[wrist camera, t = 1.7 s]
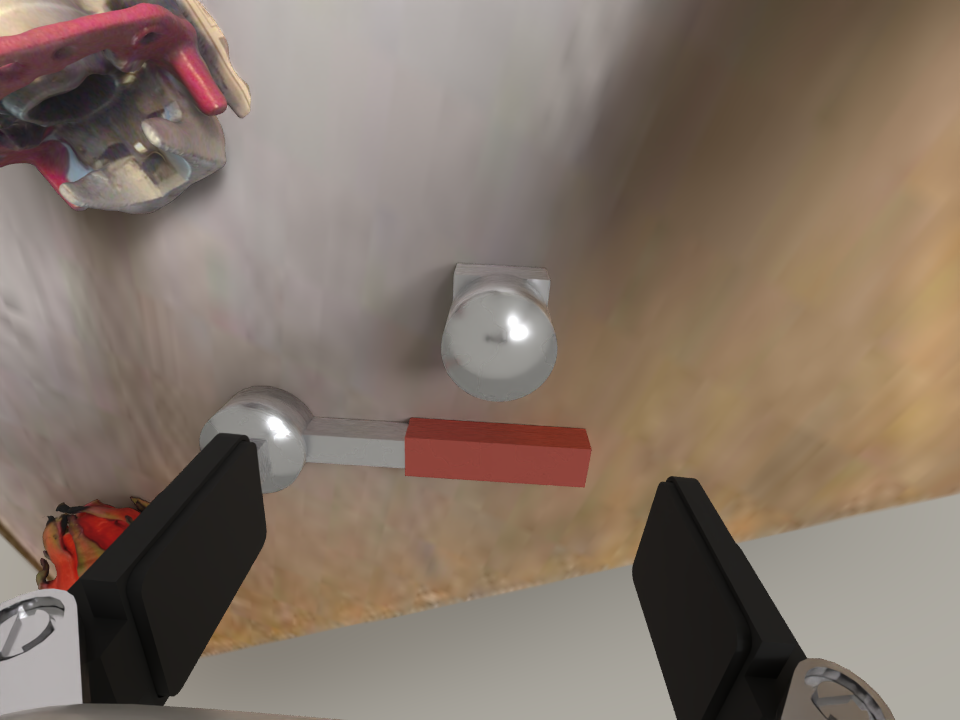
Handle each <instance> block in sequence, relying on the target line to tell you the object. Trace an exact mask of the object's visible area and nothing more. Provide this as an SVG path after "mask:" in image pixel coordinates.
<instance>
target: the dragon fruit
mask: <svg viewBox="0 0 960 720" xmlns="http://www.w3.org/2000/svg"><path fill="white" fill-rule="evenodd" d="M130 498H131V500H132V501H133V502H134V504H135V505H136V506H137V509H138V510H139V511H140V512H141V513H142V511H143V510H144V509H145V508H146V507H147V506H148V505H149V504H150V503H149V502H147V501H143V500H141V499H139V498H133V497H130ZM56 511H60V512H63V513H65V514H62V515H60V516H59V517H57V518H54V517H53V516H47V517H48V518H49V520H48V521H47V524H46V528H45V530H44V532H43V544H44V547H45V549H46V551H43V553H44V555H45V557H46V558H48V559H49V560H51V561H52V563H54V565H55V567H56V571H57V576H56V578H55V580H52V581H46V577H47V576H48V574H49V564H48V562H47V561H46V560H45V559H43V558H41V559H40V562H41V565H42V567H43V571H39V573H38V574H37V576H36V582H37V585H38V589H39V590H42V589H59V590H65V591H67V590H68V589H69V588H70V587H71V586H72V585H73V584H74V583H75V582H76V581H77V580H78V579H79V578H80V577H81V576H82V575H83V574H84V573H85V571H86V570H87V569H88V568H89V567H90V566H91V565H92V564H93V563H94V562H95V561H96V560H97V559H98V558H99V557H100V556H101V555H102V554H103V553H104V551H105V550H106V549H107V548H108V547H109V546H110V545H111V544H112V543H113V542H114V541H115V540H116V539H117V538H118V537H119V536H120V535H121V534H122V533H123V531H124V530H125V529H126V528H127V527H128V526H129V525H130V524H131V523H132V522H133V521H134V520H135V519H136V518H137V517H138V516H139V515H140V514H141V513H140V512H138V511H136V510H134V509H132V508H115V507H112V506H110V505H107V504H103V503H101V502H100V501H99V500H98V499H96V500H94V501H92V502H90V503H88V504H86V505H85V506H78V507H69V506H67V505H66V504H65V503H64V502H63V503H61V504H59V505H58V507H57V509H56ZM68 513H70V514H72V515H69V514H68ZM76 513H77V514H76ZM73 514H76V515H73ZM43 518H44V517H43ZM67 523H68V524H69V526H67Z"/></svg>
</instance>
